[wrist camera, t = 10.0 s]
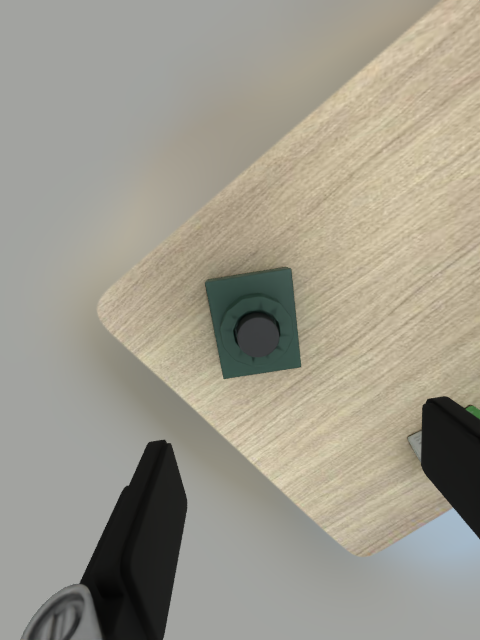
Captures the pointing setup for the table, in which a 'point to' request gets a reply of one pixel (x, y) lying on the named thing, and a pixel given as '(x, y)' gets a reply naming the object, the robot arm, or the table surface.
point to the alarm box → (254, 297)
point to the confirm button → (257, 335)
